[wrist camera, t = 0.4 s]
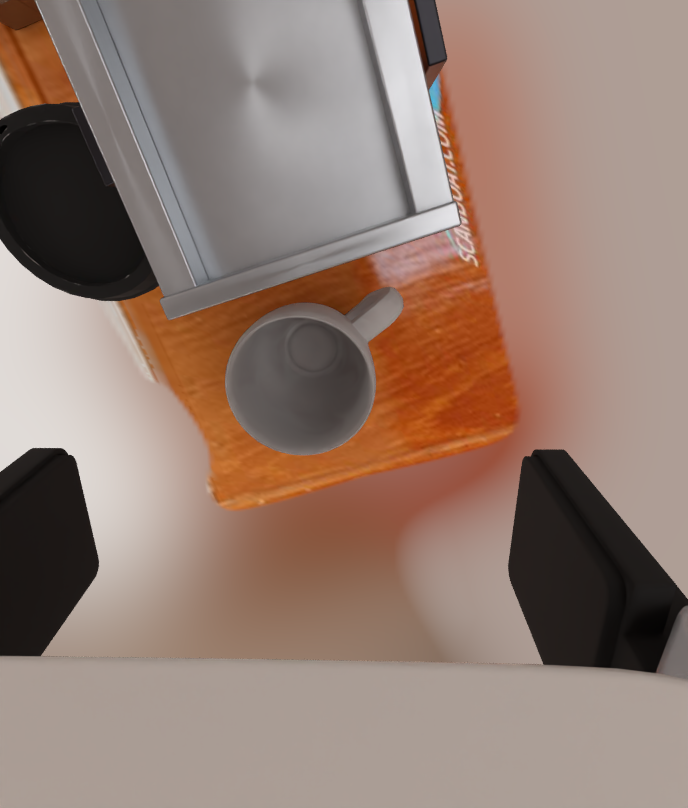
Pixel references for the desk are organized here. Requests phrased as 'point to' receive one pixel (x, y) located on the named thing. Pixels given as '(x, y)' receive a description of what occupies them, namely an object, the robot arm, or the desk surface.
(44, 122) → the coffee cup
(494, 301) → the desk surface
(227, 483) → the desk surface
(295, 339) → the mug
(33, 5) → the key
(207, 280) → the silver letter tray
